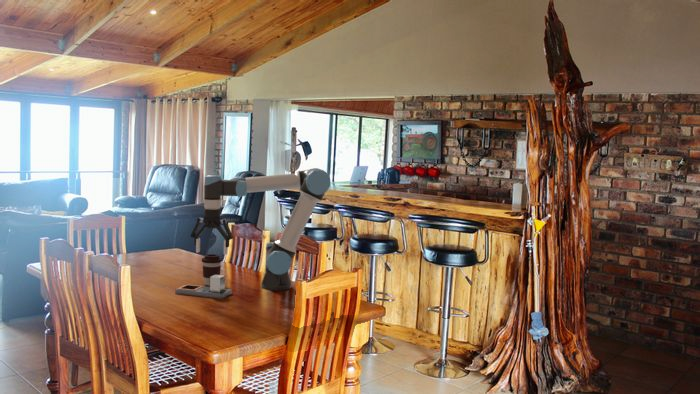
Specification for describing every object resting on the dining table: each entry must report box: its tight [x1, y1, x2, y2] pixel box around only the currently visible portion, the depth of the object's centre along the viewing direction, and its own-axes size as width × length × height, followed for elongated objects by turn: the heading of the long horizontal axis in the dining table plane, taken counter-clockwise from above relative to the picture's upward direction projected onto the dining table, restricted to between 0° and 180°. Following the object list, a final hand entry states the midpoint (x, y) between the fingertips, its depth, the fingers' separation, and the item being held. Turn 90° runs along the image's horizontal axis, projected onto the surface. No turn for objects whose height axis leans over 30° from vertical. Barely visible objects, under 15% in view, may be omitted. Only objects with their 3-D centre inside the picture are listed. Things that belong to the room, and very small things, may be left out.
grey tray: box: [174, 284, 233, 300], centre depth 277 cm, size 24×10×3 cm, turn 76°
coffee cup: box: [201, 253, 223, 286], centre depth 296 cm, size 10×10×15 cm
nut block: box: [209, 274, 226, 293], centre depth 275 cm, size 5×5×9 cm
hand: (211, 253), depth 277 cm, fingers open, 13 cm apart
